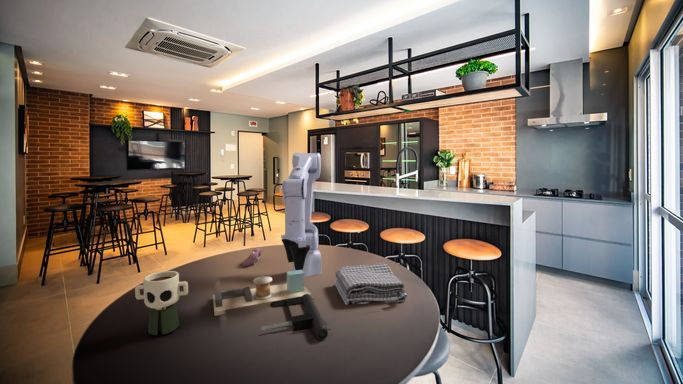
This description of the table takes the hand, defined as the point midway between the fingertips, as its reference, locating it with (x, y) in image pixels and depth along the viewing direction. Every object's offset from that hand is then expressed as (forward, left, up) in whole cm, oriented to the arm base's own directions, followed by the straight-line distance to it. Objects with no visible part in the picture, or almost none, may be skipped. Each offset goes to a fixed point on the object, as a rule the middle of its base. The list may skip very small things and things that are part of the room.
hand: (295, 265), depth 92 cm
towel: (-20, +9, -9) cm, 24 cm away
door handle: (+5, +15, -10) cm, 19 cm away
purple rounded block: (+7, -35, -9) cm, 37 cm away
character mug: (+33, +7, -9) cm, 35 cm away
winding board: (+9, -1, -9) cm, 13 cm away
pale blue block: (0, 0, -8) cm, 8 cm away
